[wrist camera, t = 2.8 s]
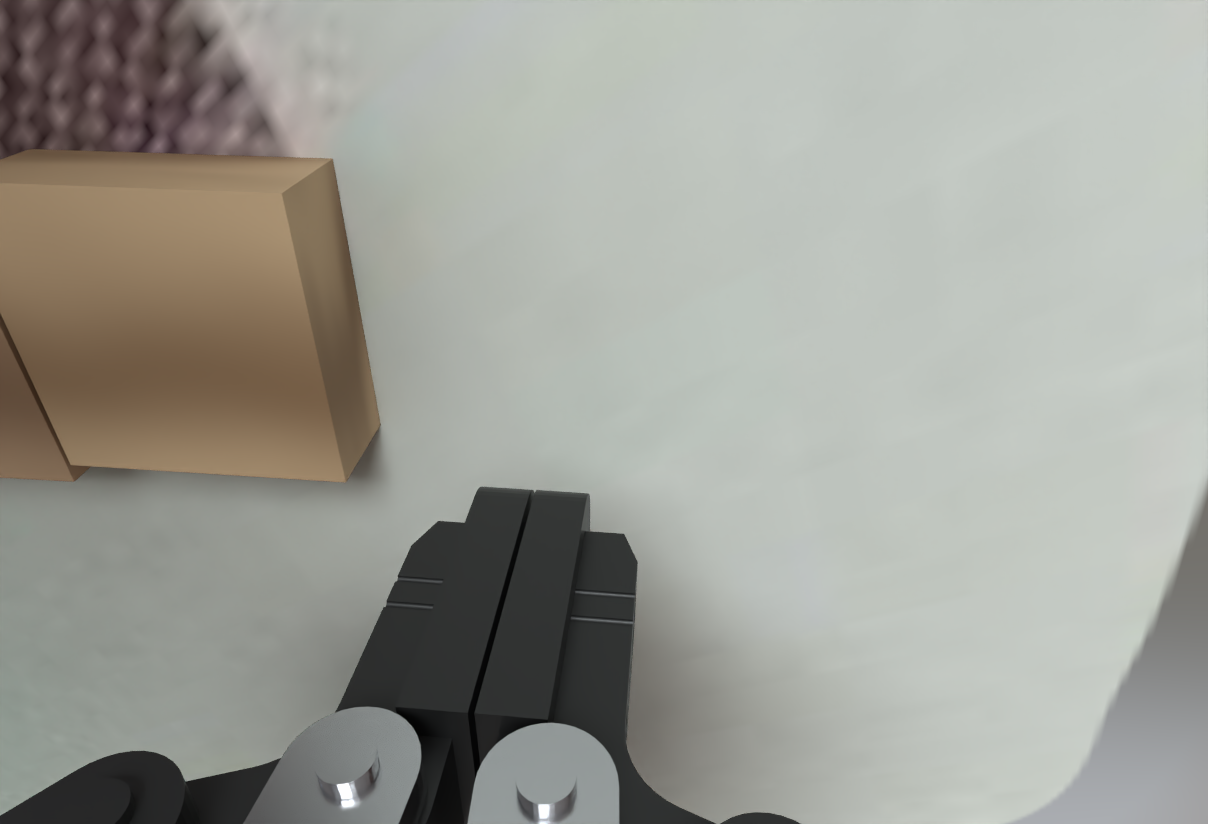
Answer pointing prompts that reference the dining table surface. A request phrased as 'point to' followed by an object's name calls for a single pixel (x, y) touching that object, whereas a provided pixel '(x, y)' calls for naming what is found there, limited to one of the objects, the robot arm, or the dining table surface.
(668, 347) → the dining table surface
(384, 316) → the dining table surface
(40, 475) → the rear tile
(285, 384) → the front tile
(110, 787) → the robot arm
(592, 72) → the dining table surface
